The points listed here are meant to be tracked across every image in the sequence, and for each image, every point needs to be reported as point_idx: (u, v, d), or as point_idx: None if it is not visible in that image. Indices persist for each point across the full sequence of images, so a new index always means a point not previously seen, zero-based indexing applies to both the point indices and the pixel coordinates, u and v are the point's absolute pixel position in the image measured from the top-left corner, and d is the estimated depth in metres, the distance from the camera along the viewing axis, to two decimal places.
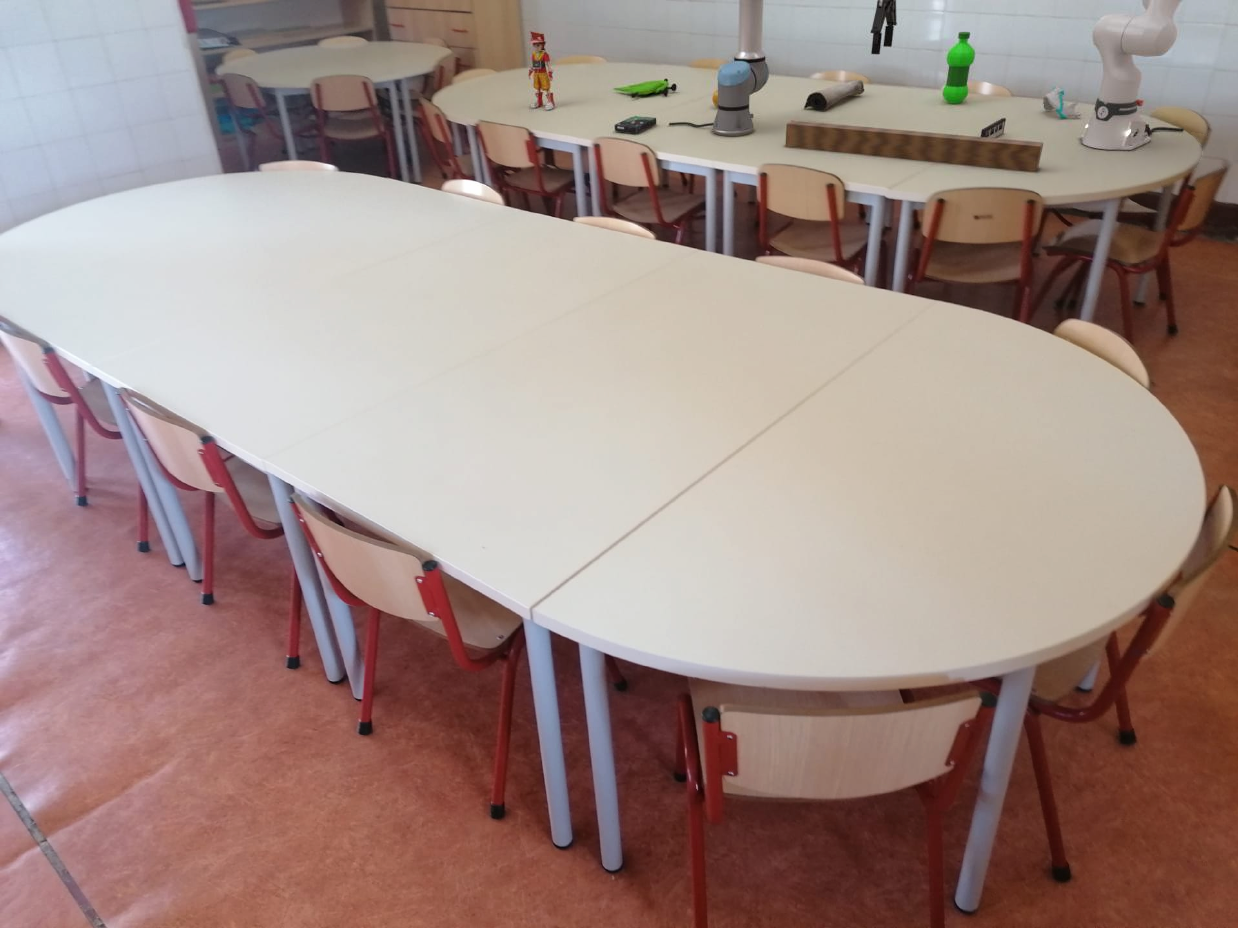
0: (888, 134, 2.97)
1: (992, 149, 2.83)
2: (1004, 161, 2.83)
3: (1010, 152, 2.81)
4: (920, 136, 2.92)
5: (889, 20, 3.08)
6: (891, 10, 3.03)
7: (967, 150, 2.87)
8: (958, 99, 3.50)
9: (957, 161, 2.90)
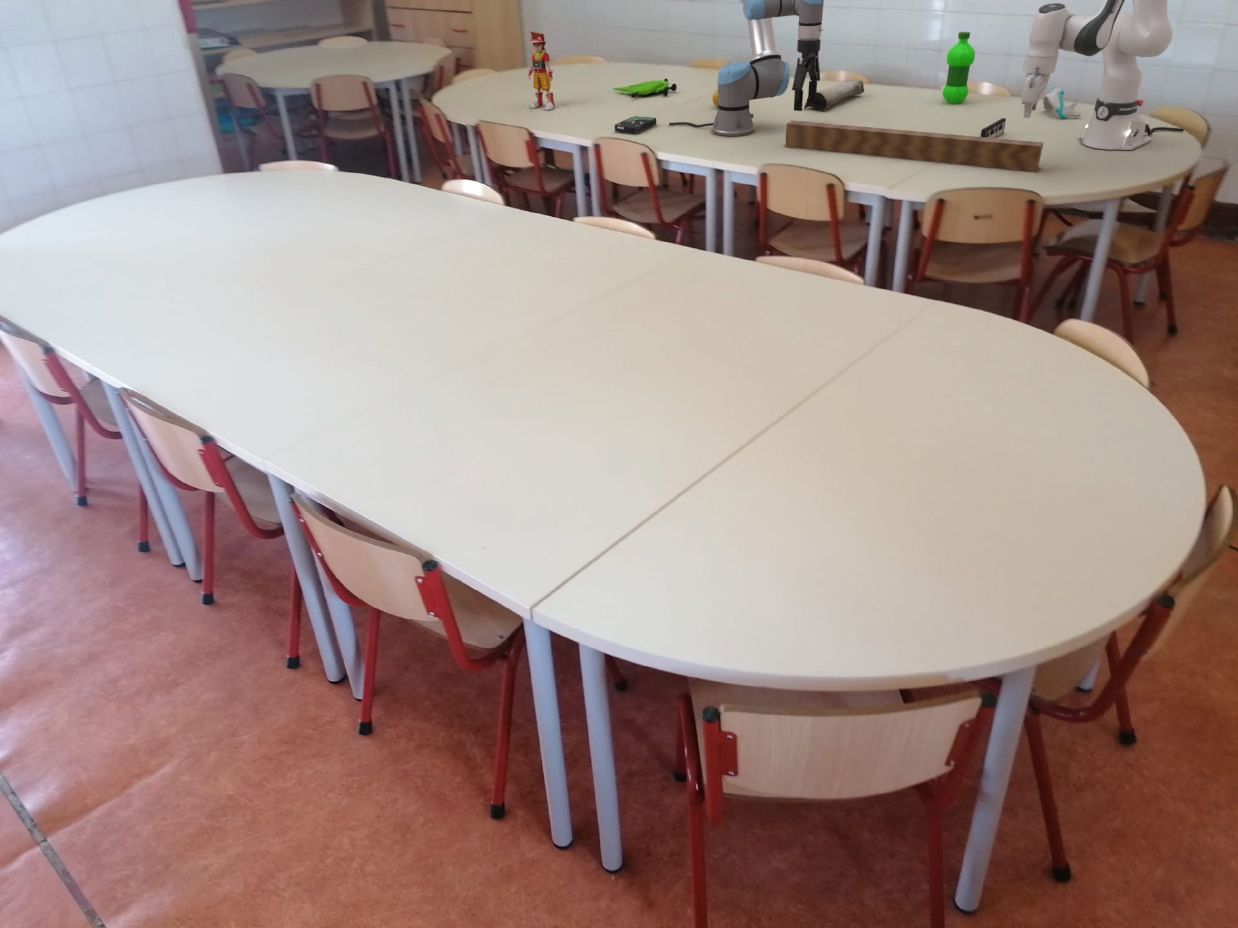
0: (888, 134, 2.97)
1: (992, 149, 2.83)
2: (1004, 161, 2.83)
3: (1010, 152, 2.81)
4: (920, 136, 2.92)
5: (812, 76, 3.08)
6: (813, 67, 3.03)
7: (967, 150, 2.87)
8: (958, 99, 3.50)
9: (957, 161, 2.90)
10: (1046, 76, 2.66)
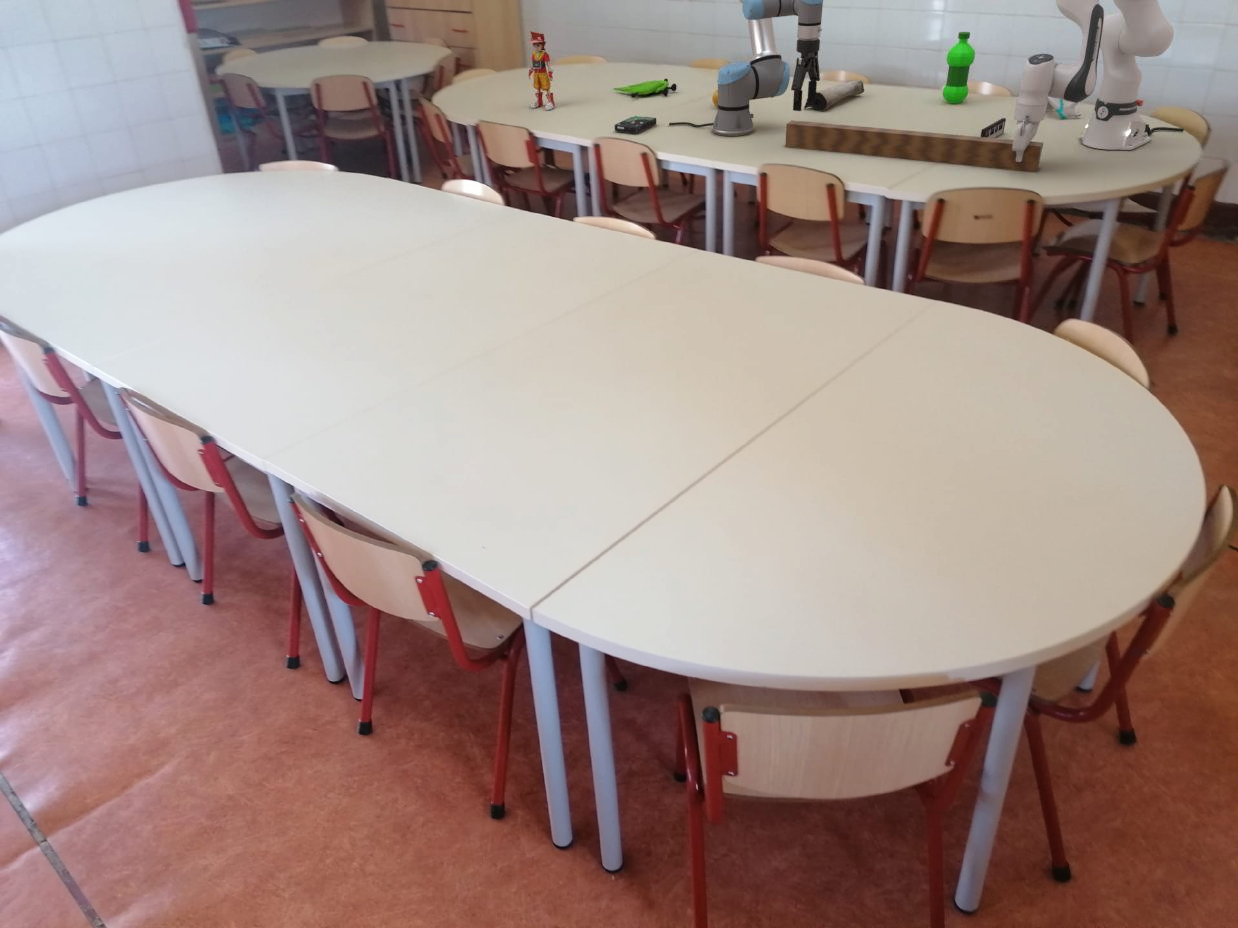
0: (888, 134, 2.97)
1: (992, 149, 2.83)
2: (1004, 161, 2.83)
3: (1010, 152, 2.81)
4: (920, 136, 2.92)
5: (812, 76, 3.08)
6: (812, 67, 3.03)
7: (967, 150, 2.87)
8: (958, 99, 3.50)
9: (957, 161, 2.90)
10: (1036, 123, 2.74)
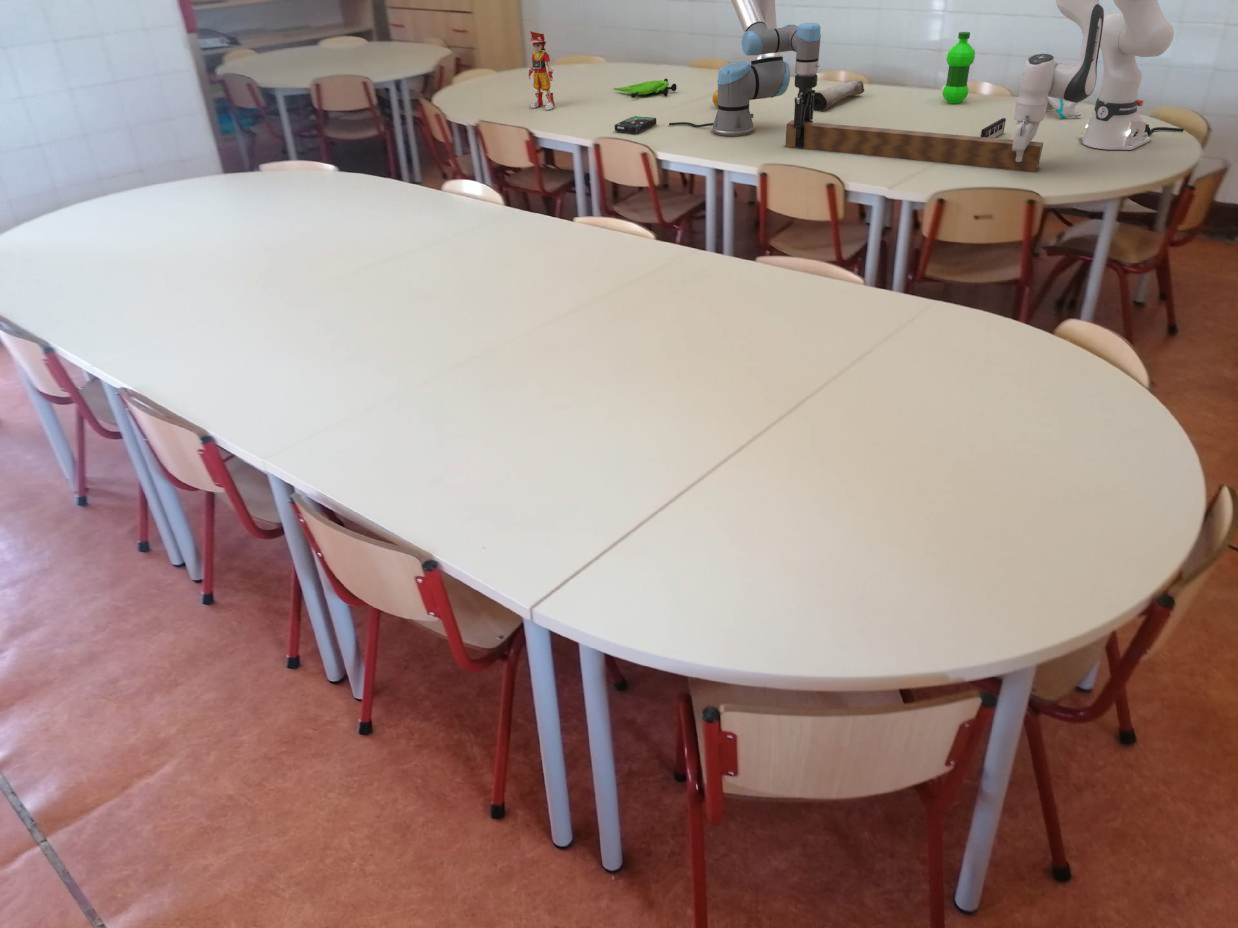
0: (888, 134, 2.97)
1: (992, 149, 2.83)
2: (1004, 161, 2.83)
3: (1010, 152, 2.81)
4: (920, 136, 2.92)
5: (806, 116, 3.12)
6: (809, 103, 3.09)
7: (967, 150, 2.87)
8: (958, 99, 3.50)
9: (957, 161, 2.90)
10: (1036, 123, 2.74)
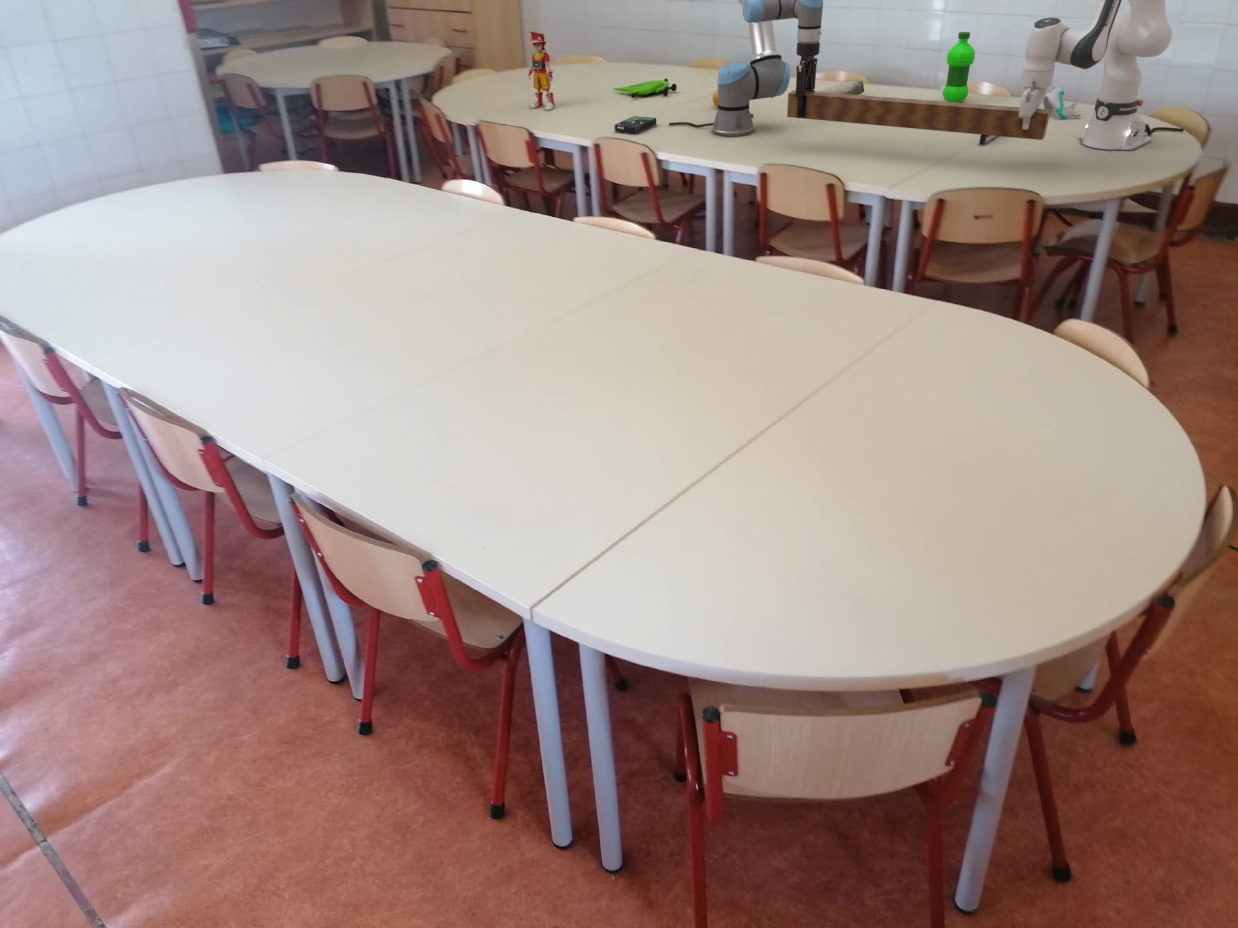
0: (891, 102, 2.91)
1: (998, 117, 2.78)
2: (1010, 129, 2.78)
3: (1016, 119, 2.75)
4: (925, 104, 2.87)
5: (808, 85, 3.07)
6: (811, 72, 3.03)
7: (972, 118, 2.81)
8: (958, 99, 3.50)
9: (963, 130, 2.85)
10: (1043, 89, 2.68)
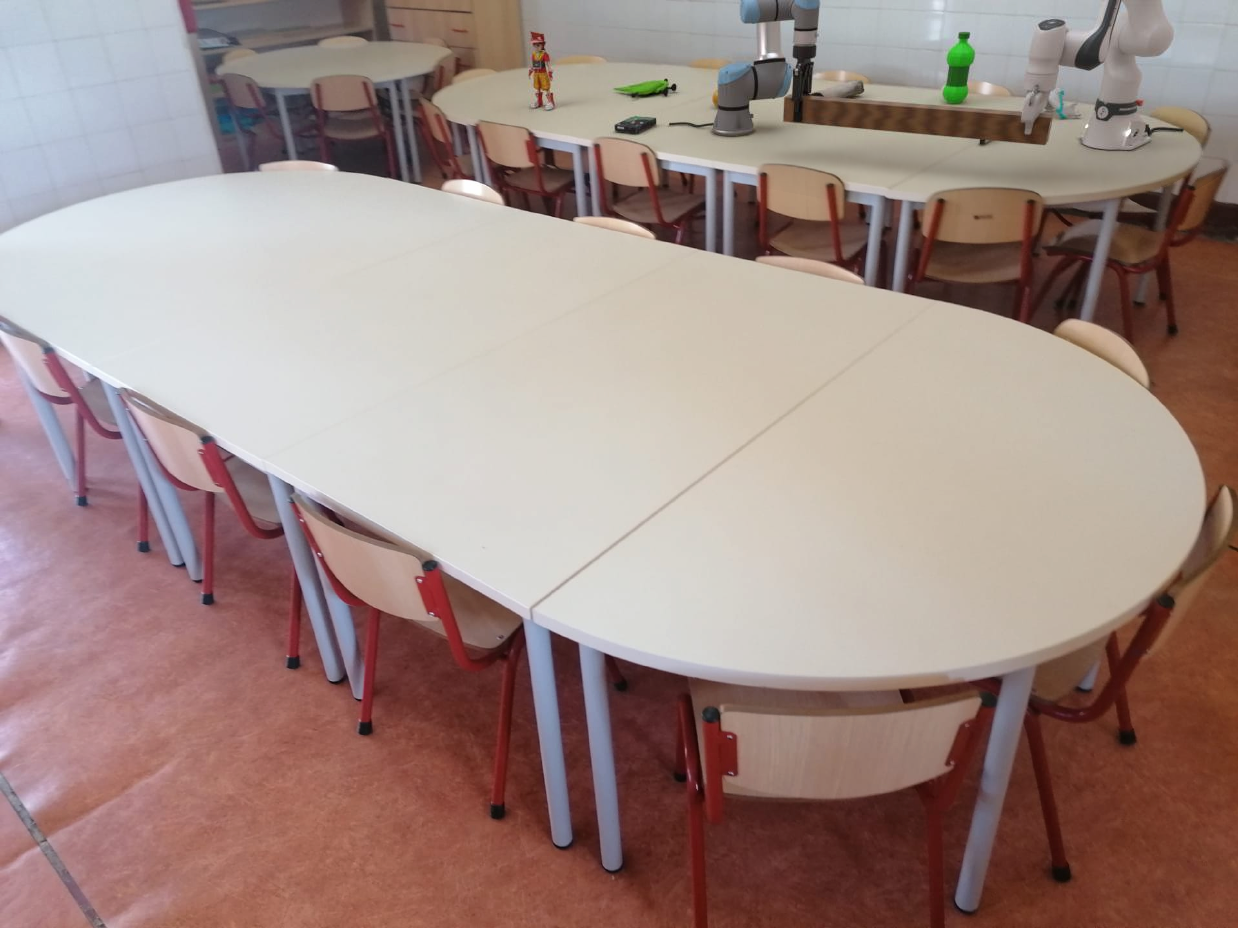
0: (890, 106, 2.83)
1: (999, 121, 2.69)
2: (1012, 133, 2.69)
3: (1018, 124, 2.67)
4: (924, 108, 2.78)
5: (804, 89, 2.99)
6: (807, 75, 2.95)
7: (973, 123, 2.73)
8: (958, 99, 3.50)
9: (963, 135, 2.76)
10: (1046, 93, 2.60)
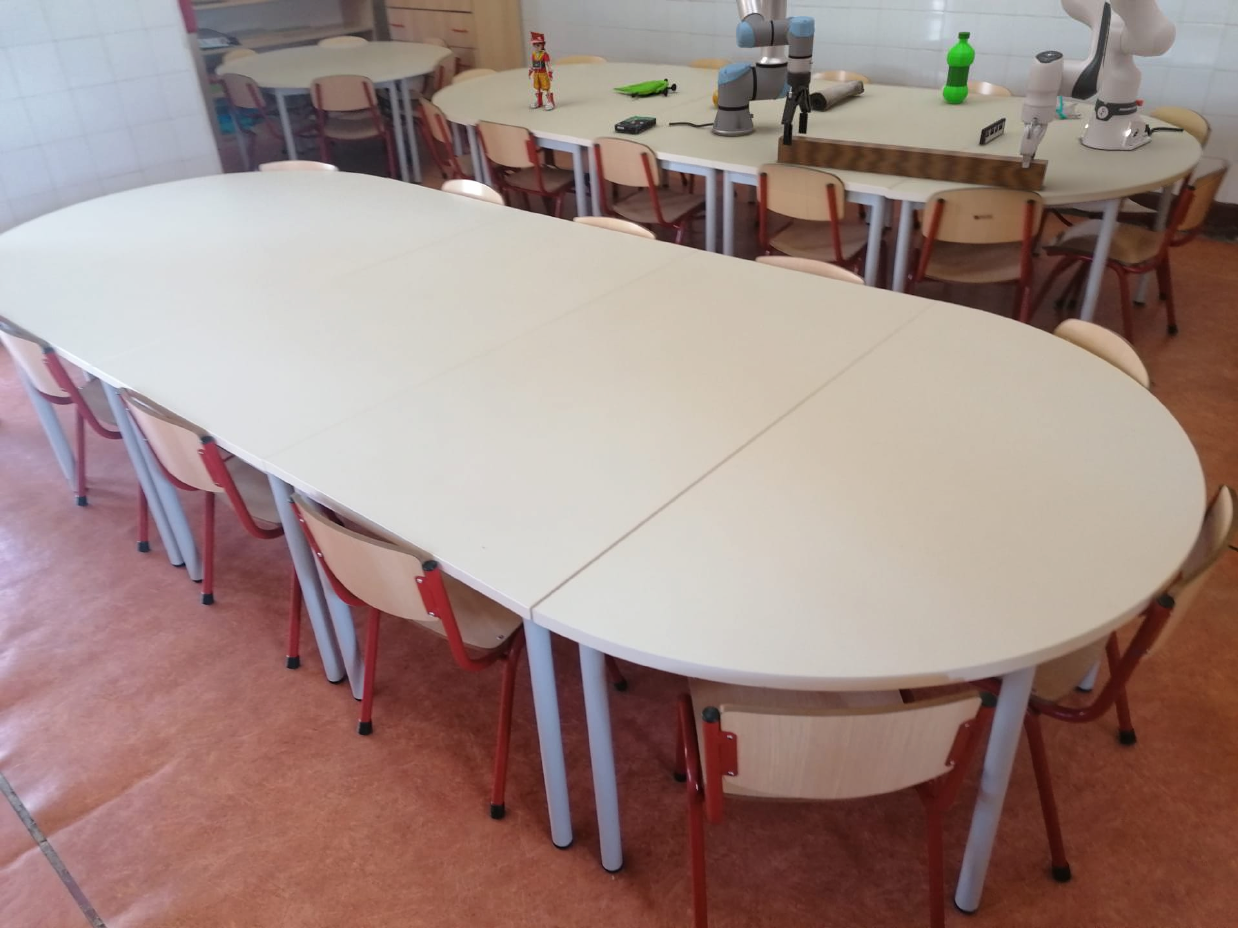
0: (884, 149, 2.82)
1: (994, 166, 2.68)
2: (1007, 179, 2.68)
3: (1013, 170, 2.66)
4: (918, 152, 2.77)
5: (803, 108, 2.97)
6: (803, 99, 2.92)
7: (968, 167, 2.72)
8: (958, 99, 3.50)
9: (958, 179, 2.75)
10: (1045, 125, 2.57)
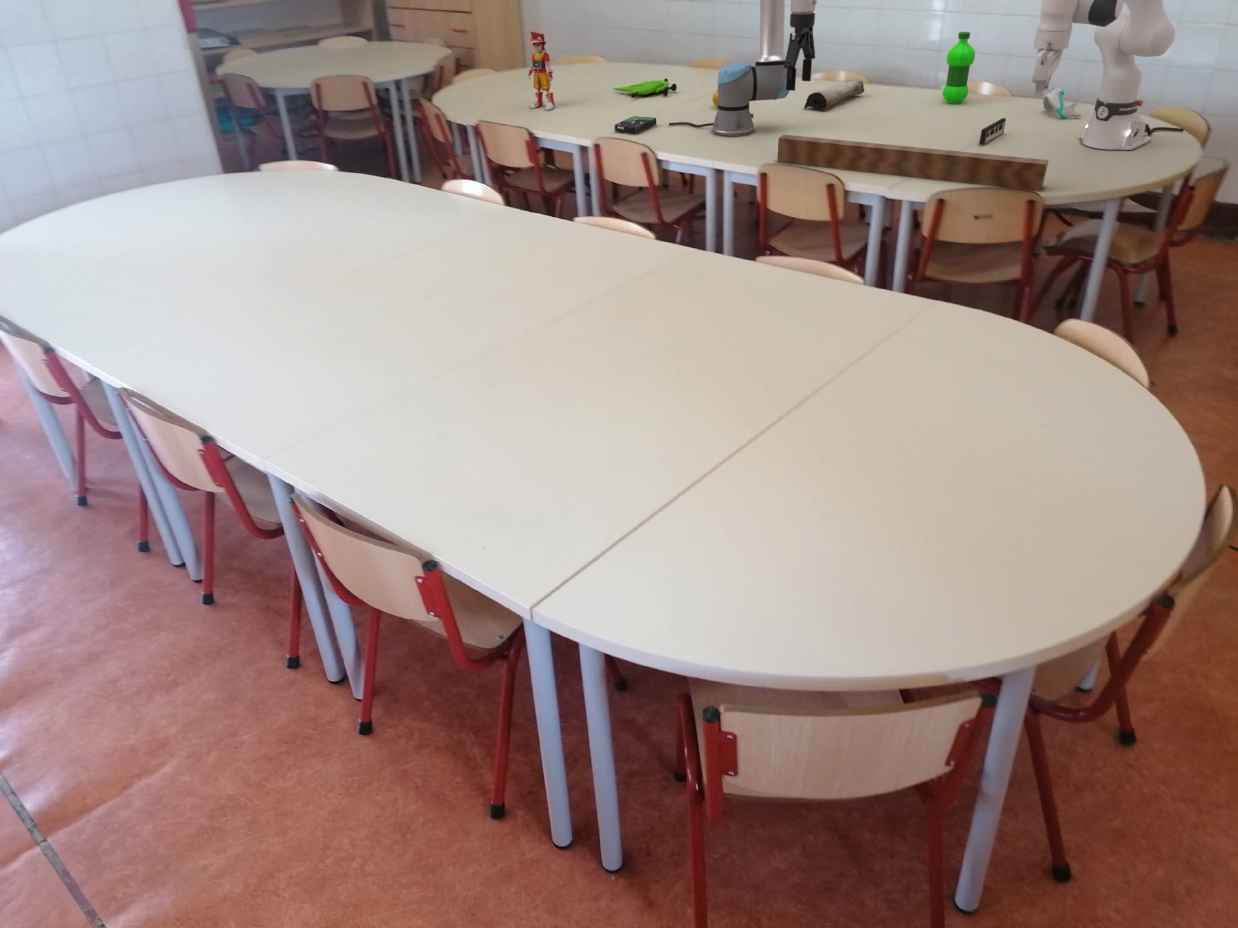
0: (884, 149, 2.82)
1: (994, 166, 2.68)
2: (1007, 179, 2.68)
3: (1013, 170, 2.66)
4: (918, 152, 2.77)
5: (806, 53, 2.87)
6: (807, 43, 2.82)
7: (968, 167, 2.72)
8: (958, 99, 3.50)
9: (958, 179, 2.75)
10: (1059, 52, 2.45)
